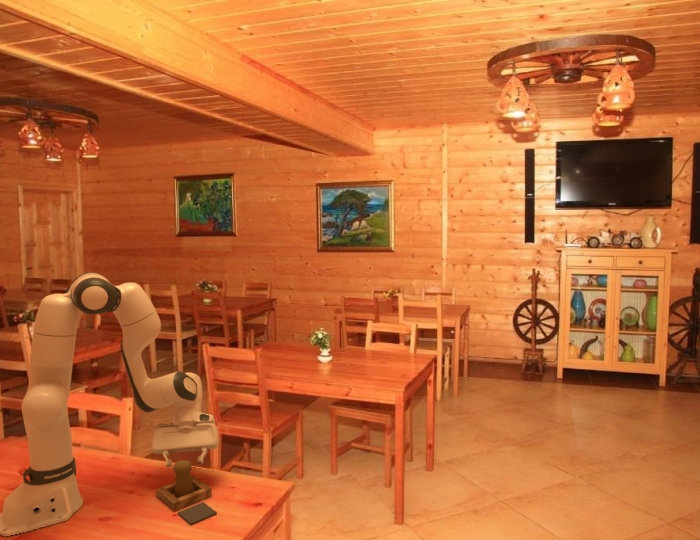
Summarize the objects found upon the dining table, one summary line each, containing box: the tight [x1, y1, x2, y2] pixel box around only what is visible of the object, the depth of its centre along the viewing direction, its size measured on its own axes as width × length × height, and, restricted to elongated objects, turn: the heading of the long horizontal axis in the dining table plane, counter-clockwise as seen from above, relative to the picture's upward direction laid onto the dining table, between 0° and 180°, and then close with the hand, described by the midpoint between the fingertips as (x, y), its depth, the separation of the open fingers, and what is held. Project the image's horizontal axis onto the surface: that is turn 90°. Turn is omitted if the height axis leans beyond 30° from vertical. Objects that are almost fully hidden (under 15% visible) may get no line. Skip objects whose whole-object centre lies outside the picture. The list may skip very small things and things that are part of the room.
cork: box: [173, 459, 195, 498], centre depth 167 cm, size 6×6×11 cm
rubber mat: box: [177, 501, 218, 526], centre depth 157 cm, size 8×8×1 cm
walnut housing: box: [155, 475, 213, 513], centre depth 167 cm, size 12×12×2 cm
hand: (184, 464), depth 169 cm, fingers open, 8 cm apart
